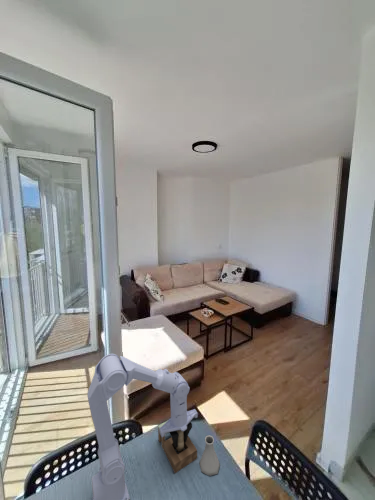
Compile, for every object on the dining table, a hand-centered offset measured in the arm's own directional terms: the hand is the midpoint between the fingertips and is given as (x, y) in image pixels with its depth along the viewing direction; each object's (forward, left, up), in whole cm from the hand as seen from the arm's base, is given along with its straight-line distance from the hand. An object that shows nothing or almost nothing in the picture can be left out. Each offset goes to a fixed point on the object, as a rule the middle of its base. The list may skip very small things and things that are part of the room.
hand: (179, 442), depth 80 cm
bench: (0, +7, -5) cm, 8 cm away
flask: (+7, -8, -5) cm, 12 cm away
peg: (0, 0, -3) cm, 3 cm away
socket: (0, 0, -5) cm, 5 cm away
